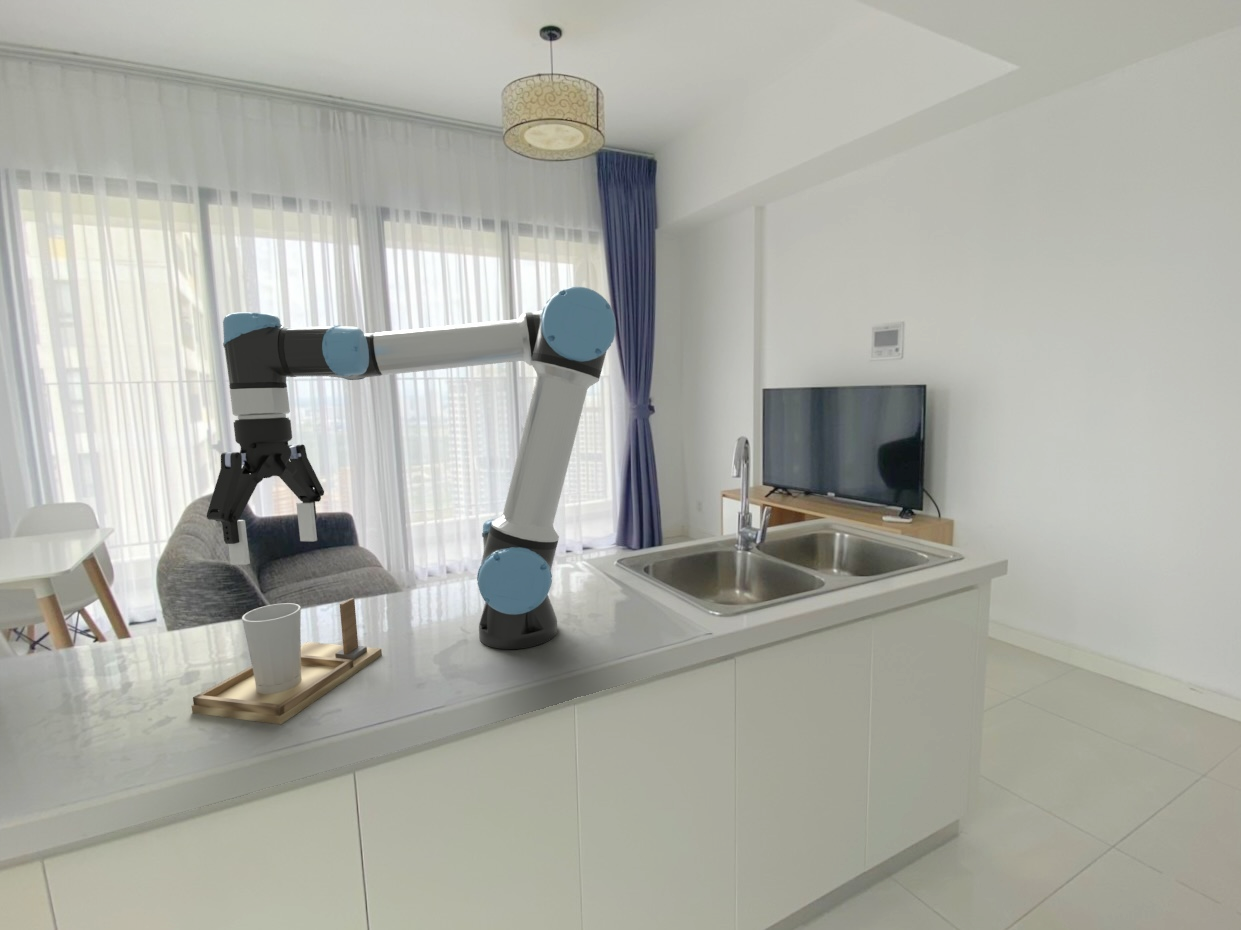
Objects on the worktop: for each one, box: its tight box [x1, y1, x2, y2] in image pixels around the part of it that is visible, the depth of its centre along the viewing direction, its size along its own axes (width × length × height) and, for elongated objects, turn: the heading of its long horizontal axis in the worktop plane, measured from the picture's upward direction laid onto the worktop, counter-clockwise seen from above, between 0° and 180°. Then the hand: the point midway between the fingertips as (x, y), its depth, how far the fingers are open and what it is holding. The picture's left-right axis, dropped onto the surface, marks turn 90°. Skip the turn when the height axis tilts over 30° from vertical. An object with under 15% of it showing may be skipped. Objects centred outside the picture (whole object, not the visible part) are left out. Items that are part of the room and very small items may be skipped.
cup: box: [241, 602, 302, 694], centre depth 92 cm, size 8×8×12 cm
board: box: [191, 597, 383, 725], centre depth 96 cm, size 16×23×11 cm
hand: (277, 551), depth 92 cm, fingers open, 13 cm apart
